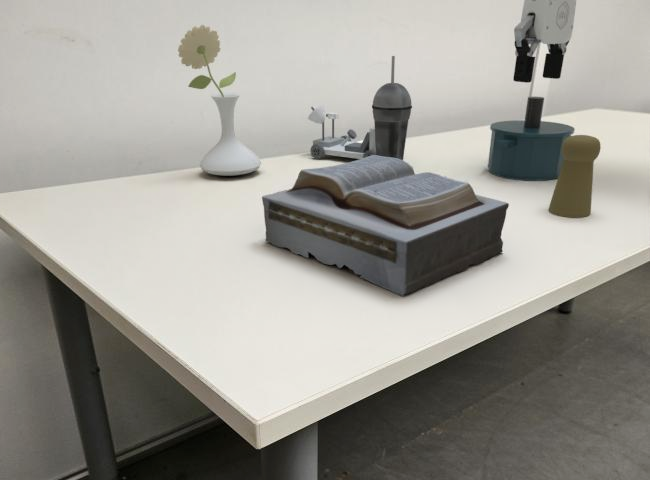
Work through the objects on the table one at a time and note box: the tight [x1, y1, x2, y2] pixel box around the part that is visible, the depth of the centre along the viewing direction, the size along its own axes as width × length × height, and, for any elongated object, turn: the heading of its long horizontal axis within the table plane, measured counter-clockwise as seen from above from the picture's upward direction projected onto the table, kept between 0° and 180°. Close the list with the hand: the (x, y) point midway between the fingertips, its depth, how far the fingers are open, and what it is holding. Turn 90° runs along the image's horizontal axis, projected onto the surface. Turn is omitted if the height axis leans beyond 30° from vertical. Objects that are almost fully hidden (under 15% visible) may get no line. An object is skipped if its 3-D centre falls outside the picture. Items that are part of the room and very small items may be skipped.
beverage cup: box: [371, 55, 413, 161], centre depth 110 cm, size 7×7×20 cm
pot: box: [487, 130, 572, 182], centre depth 112 cm, size 14×19×8 cm
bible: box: [261, 155, 510, 298], centre depth 76 cm, size 23×27×10 cm
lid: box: [489, 96, 576, 138], centre depth 110 cm, size 15×15×6 cm
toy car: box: [307, 105, 376, 160], centre depth 124 cm, size 18×10×12 cm
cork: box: [547, 134, 601, 218], centre depth 89 cm, size 6×6×11 cm
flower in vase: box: [177, 24, 262, 177], centre depth 108 cm, size 13×11×25 cm
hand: (537, 79), depth 107 cm, fingers open, 9 cm apart
